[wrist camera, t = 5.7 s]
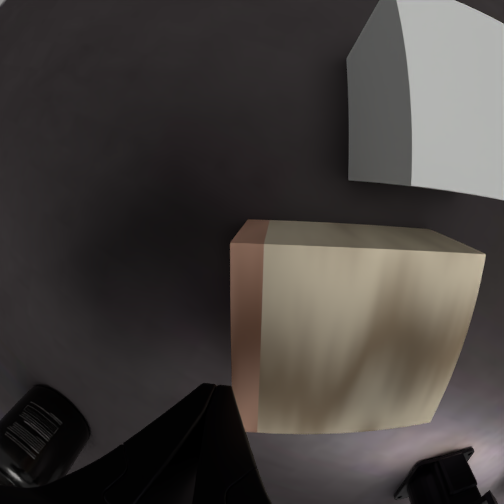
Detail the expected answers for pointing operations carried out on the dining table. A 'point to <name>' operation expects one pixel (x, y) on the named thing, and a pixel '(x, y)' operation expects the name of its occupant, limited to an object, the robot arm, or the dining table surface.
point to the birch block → (345, 324)
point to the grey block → (428, 98)
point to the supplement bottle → (40, 439)
